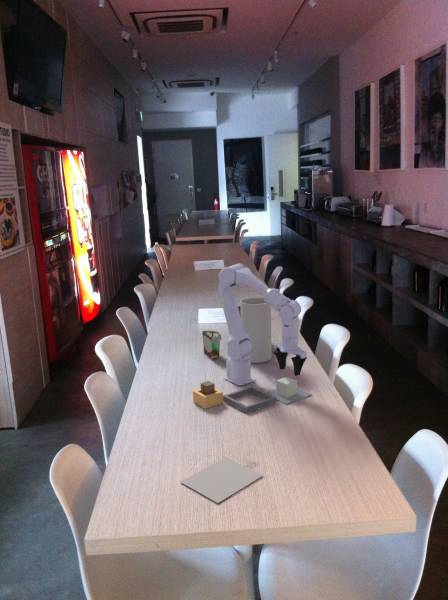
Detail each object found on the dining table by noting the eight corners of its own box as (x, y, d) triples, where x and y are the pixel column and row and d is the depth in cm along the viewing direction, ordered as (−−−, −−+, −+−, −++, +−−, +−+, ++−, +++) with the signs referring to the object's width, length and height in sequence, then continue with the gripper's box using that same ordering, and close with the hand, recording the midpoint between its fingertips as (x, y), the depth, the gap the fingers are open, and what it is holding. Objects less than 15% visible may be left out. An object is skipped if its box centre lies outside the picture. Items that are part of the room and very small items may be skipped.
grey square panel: (157, 471, 152) (157, 468, 152) (222, 438, 169) (222, 436, 169) (217, 505, 136) (217, 503, 135) (283, 465, 153) (283, 462, 153)
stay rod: (201, 402, 194) (200, 383, 192) (209, 399, 196) (208, 380, 194) (207, 405, 192) (206, 386, 190) (215, 402, 194) (214, 383, 192)
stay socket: (193, 401, 195) (192, 391, 194) (210, 396, 199) (210, 385, 198) (205, 408, 189) (205, 397, 188) (223, 402, 193) (222, 391, 192)
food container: (226, 358, 236) (225, 336, 234) (212, 361, 234) (212, 338, 232) (216, 350, 248) (215, 328, 245) (202, 352, 245) (202, 330, 243)
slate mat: (263, 394, 199) (263, 392, 199) (288, 385, 206) (288, 384, 206) (286, 404, 190) (286, 403, 190) (311, 395, 197) (311, 394, 197)
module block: (276, 393, 198) (276, 380, 197) (287, 389, 201) (286, 376, 200) (286, 397, 194) (286, 384, 193) (296, 394, 197) (296, 380, 196)
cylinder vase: (235, 358, 236) (234, 301, 230) (257, 351, 244) (256, 295, 238) (256, 366, 227) (254, 306, 221) (277, 358, 235) (277, 300, 229)
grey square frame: (222, 401, 194) (222, 395, 194) (252, 391, 202) (251, 386, 201) (246, 413, 184) (246, 407, 184) (276, 402, 192) (276, 397, 191)
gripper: (267, 333, 200) (268, 369, 203) (295, 342, 188) (295, 380, 192) (282, 329, 204) (282, 364, 207) (311, 338, 192) (310, 375, 196)
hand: (289, 372), depth 200 cm, fingers open, 7 cm apart
